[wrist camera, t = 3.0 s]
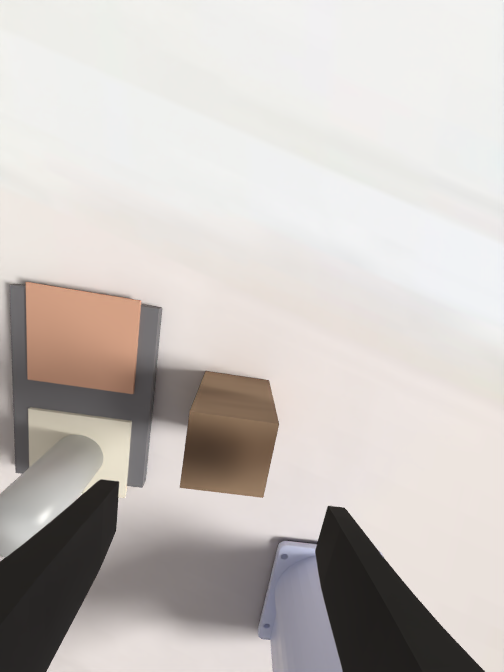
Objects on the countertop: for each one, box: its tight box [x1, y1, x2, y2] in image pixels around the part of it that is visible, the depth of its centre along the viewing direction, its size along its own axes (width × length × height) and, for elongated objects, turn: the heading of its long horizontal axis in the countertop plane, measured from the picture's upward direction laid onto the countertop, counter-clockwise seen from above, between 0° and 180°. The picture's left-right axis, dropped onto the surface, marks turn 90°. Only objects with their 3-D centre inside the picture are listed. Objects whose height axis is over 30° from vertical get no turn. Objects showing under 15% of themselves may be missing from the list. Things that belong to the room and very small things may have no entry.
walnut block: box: [180, 371, 279, 498], centre depth 15 cm, size 4×4×5 cm
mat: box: [9, 282, 162, 498], centre depth 16 cm, size 13×8×1 cm, turn 170°
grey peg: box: [0, 435, 103, 557], centre depth 14 cm, size 3×3×5 cm
